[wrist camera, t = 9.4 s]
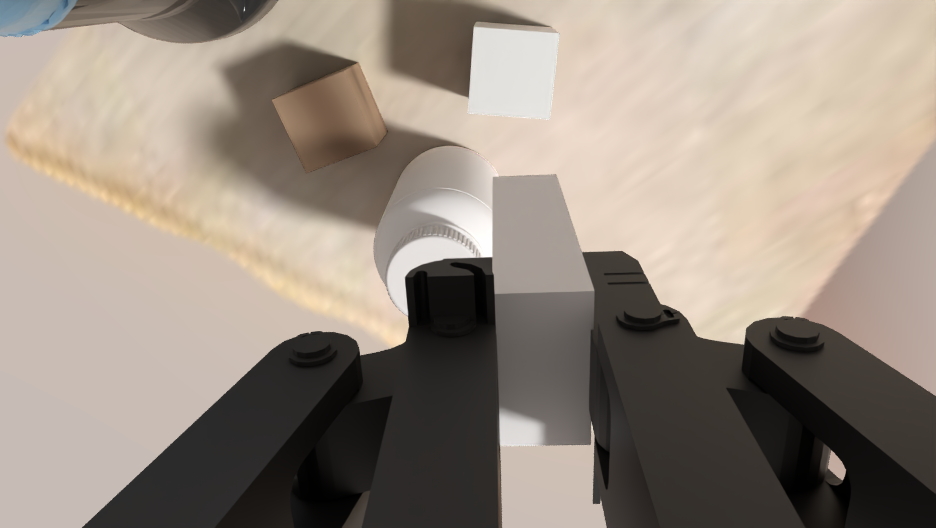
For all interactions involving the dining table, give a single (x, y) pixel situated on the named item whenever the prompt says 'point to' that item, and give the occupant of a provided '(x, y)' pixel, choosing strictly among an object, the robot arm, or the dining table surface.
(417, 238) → the pill bottle
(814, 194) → the dining table surface
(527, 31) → the white block
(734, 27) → the dining table surface
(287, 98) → the walnut cube
